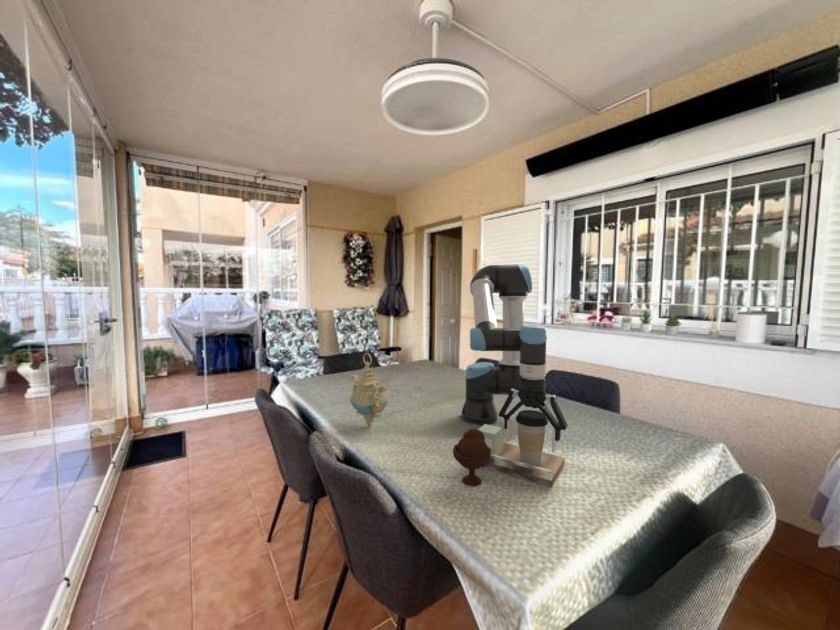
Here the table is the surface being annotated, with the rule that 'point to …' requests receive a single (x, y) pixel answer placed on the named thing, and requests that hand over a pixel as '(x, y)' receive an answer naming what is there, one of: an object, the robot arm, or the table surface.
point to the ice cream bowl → (472, 454)
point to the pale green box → (492, 438)
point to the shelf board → (526, 465)
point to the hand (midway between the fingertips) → (531, 444)
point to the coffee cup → (531, 435)
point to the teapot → (368, 394)
